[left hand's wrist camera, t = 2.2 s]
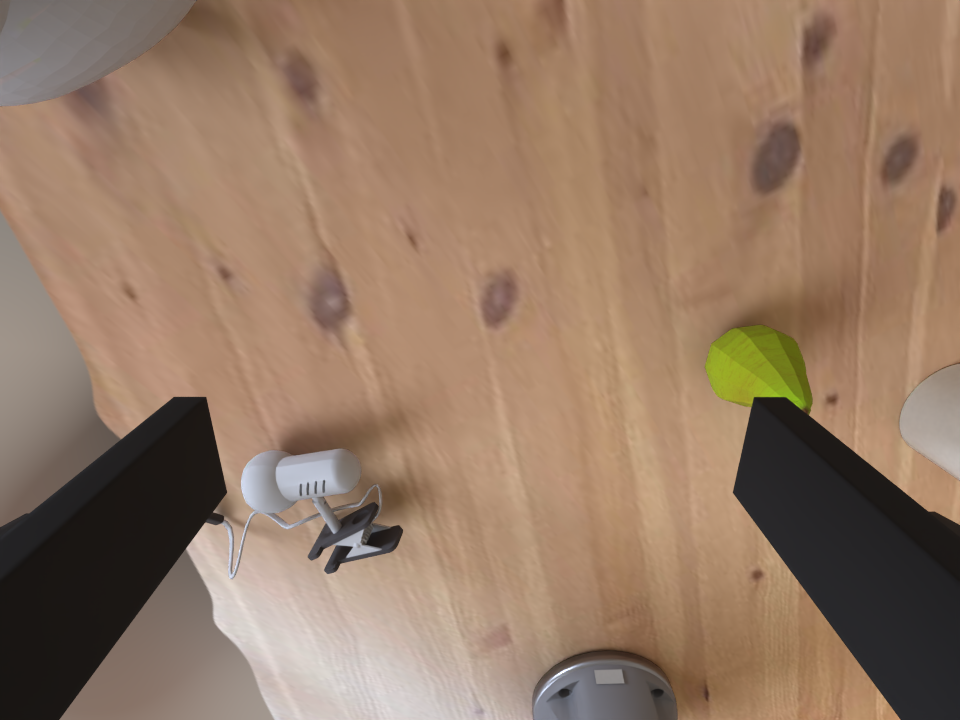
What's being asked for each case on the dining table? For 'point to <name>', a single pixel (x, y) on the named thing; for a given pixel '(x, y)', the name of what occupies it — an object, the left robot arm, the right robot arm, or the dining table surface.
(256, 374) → the dining table surface
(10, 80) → the table lamp
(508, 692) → the dining table surface
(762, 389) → the fruit
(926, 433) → the jar
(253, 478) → the clip-on lamp
